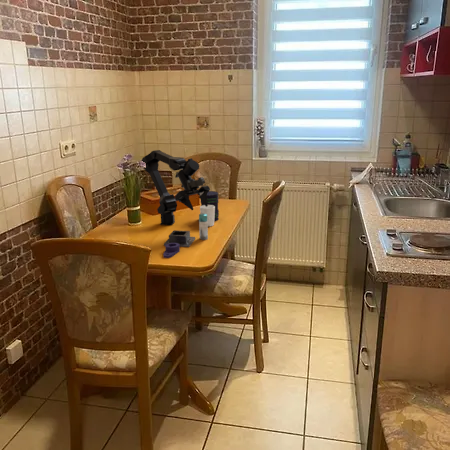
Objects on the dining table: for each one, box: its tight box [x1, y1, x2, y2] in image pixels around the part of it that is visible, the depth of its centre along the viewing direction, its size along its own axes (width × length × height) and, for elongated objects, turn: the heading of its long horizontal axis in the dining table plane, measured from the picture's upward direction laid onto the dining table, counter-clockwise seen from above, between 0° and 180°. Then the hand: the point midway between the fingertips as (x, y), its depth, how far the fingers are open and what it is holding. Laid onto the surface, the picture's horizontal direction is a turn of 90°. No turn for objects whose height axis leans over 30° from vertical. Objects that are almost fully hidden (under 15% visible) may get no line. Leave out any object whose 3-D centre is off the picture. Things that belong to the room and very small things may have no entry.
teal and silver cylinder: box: [198, 213, 209, 241], centre depth 220 cm, size 4×4×12 cm
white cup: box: [199, 205, 215, 227], centre depth 243 cm, size 8×8×10 cm
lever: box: [162, 243, 181, 259], centre depth 203 cm, size 12×6×3 cm, turn 168°
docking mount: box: [163, 229, 196, 248], centre depth 217 cm, size 12×12×4 cm
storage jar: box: [199, 190, 220, 223], centre depth 252 cm, size 10×10×15 cm
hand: (200, 208), depth 224 cm, fingers open, 9 cm apart
